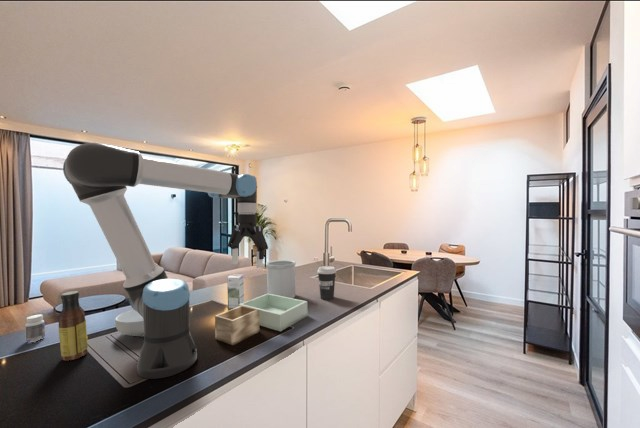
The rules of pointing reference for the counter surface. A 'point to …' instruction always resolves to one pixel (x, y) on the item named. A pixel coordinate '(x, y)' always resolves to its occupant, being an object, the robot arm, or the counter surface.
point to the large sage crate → (278, 310)
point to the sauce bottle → (72, 327)
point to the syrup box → (235, 290)
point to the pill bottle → (35, 328)
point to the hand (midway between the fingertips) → (247, 265)
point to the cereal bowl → (130, 323)
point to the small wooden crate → (236, 324)
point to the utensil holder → (281, 278)
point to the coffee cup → (326, 282)
